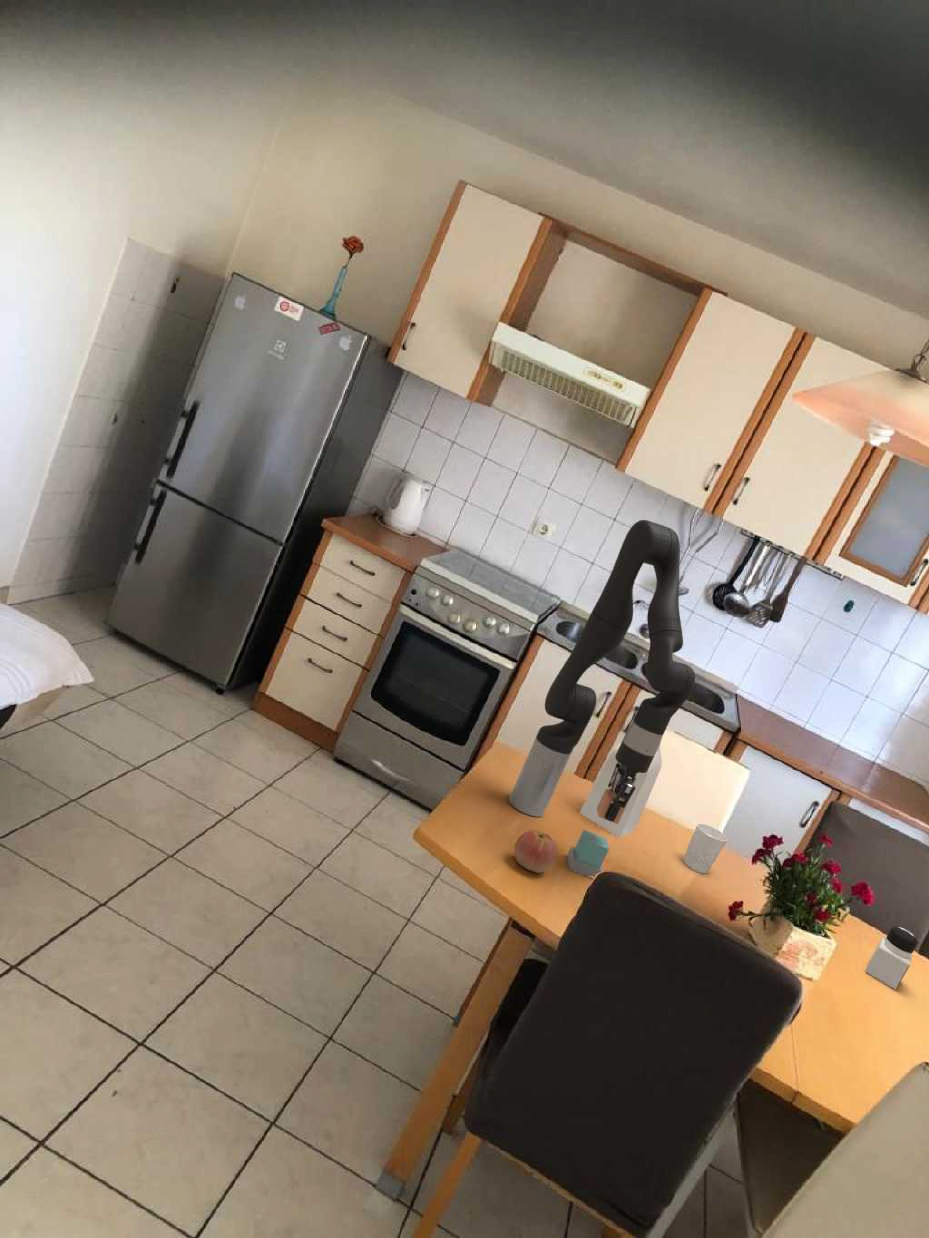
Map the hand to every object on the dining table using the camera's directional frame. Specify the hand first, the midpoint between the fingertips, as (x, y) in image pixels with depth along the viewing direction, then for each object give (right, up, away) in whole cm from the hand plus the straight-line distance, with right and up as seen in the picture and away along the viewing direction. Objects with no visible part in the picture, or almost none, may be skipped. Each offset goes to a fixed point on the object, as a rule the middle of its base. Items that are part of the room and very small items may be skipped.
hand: (607, 814), depth 210 cm
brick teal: (-4, -10, +2) cm, 11 cm away
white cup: (+26, -19, +31) cm, 45 cm away
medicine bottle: (+65, -40, +11) cm, 76 cm away
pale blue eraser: (-5, -12, +3) cm, 14 cm away
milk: (+5, -9, +37) cm, 38 cm away
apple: (-18, -10, -7) cm, 22 cm away
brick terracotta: (0, 0, 0) cm, 0 cm away
